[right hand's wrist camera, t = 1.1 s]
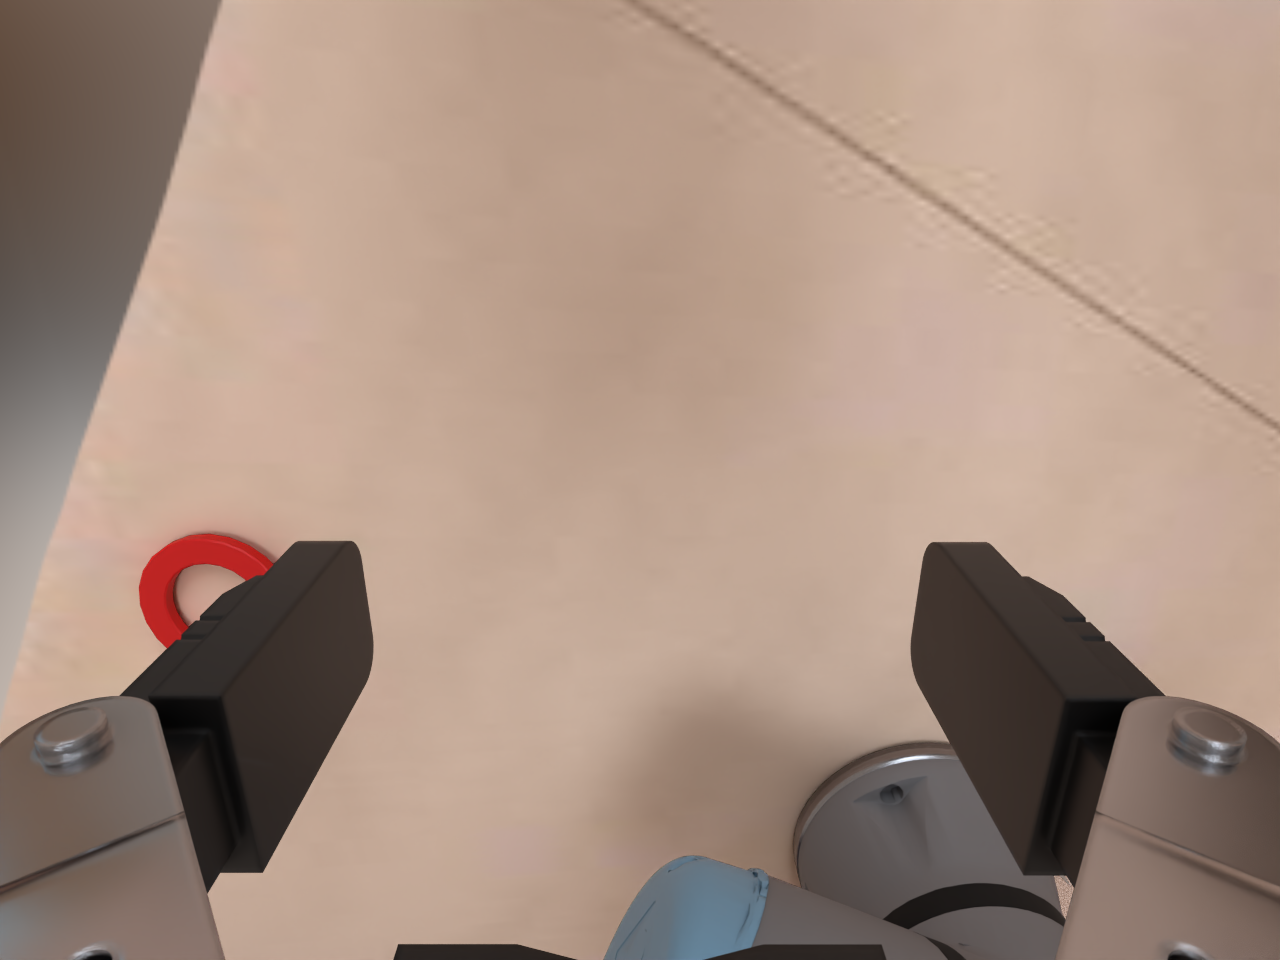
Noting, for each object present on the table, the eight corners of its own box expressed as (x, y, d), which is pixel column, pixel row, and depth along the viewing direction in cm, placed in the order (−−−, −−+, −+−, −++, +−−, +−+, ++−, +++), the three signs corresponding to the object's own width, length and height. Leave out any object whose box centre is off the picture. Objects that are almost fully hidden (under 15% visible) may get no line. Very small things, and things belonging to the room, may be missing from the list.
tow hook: (152, 646, 45) (310, 679, 45) (-44, 812, 33) (174, 855, 33) (151, 516, 42) (319, 551, 42) (-64, 644, 30) (175, 692, 30)
